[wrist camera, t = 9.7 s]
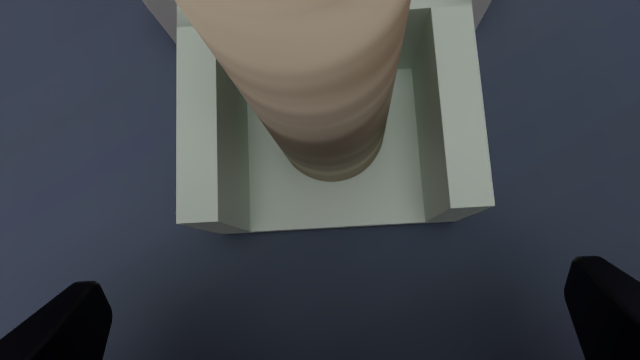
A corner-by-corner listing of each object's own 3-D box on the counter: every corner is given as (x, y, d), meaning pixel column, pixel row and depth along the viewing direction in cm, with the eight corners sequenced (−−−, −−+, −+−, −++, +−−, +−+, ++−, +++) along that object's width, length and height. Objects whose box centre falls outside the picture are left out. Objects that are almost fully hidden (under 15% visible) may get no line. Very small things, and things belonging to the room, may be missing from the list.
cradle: (455, 221, 18) (495, 205, 13) (222, 234, 18) (176, 223, 14) (436, 36, 19) (466, -41, 14) (219, 52, 20) (176, -18, 15)
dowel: (364, 195, 18) (376, 55, 6) (265, 163, 18) (75, -31, 6) (397, 97, 18) (475, -230, 6) (299, 68, 19) (189, -288, 7)
